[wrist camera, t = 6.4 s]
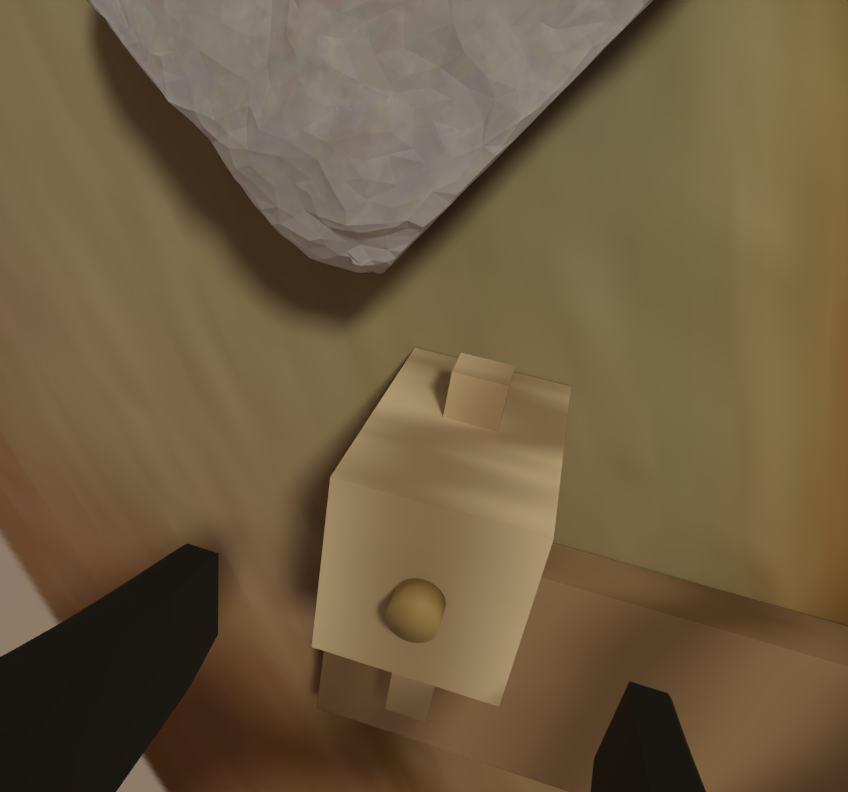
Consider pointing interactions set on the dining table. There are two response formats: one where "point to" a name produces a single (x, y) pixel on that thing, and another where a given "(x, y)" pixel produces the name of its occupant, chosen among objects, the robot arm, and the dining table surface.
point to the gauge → (442, 527)
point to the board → (646, 665)
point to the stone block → (362, 100)
